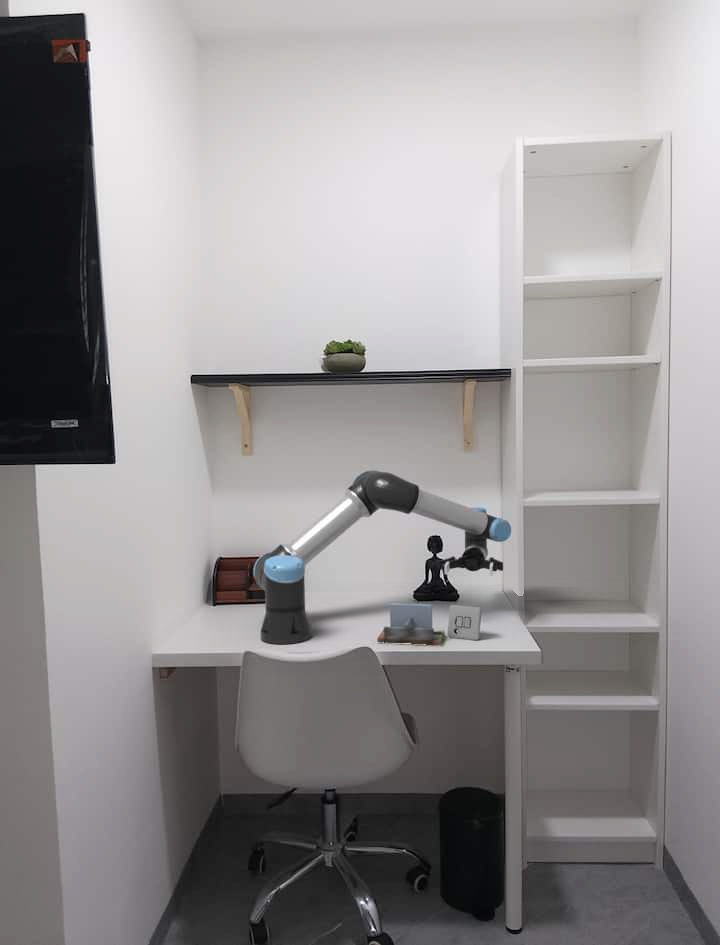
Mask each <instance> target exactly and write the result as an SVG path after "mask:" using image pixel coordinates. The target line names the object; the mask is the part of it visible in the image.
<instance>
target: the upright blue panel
mask: <svg viewBox="0 0 720 945" xmlns="http://www.w3.org/2000/svg"><path fill="white" fill-rule="evenodd" d="M389 616H390V617H389V618H390V619H389V621H390V622H389V624H390V626H389V627H405V628H408V627H410V628H433V604H432V603H431V604H424V603H423V604H422V603H397V602H396V603H395V602H394V603H393V602H391V603H390V604H389ZM434 634H443V632H435V631H434Z"/></svg>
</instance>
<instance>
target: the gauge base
mask: <svg viewBox="0 0 720 945" xmlns="http://www.w3.org/2000/svg"><path fill="white" fill-rule="evenodd" d="M434 631H435V632H443V634H434ZM445 633H446V632H445V630H442V629H440V630H437V629H434V627H432V628H410V627H408V628H405V627H390V626H384V627H383V629H382V631H381V632H380V634H379V636H377V638H376V639H377V642H384V643H386V642H387V643H411V644H426V645H425V646H428V645H441V646H442V644H441V643H443V641H444V639H443V638H445V636H446V634H445Z"/></svg>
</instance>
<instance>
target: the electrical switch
mask: <svg viewBox="0 0 720 945" xmlns="http://www.w3.org/2000/svg"><path fill="white" fill-rule="evenodd" d="M481 608H482V607H480V606H471V605H470V606H469V605H458V604H451V605H450V606H449V614H448V625H447V636H448V637H449V638H453V637H456V638H455V639H461V638H464V640H470V639H472V641H479V639H480V634H481V620H482V609H481Z"/></svg>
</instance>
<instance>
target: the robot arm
mask: <svg viewBox="0 0 720 945" xmlns="http://www.w3.org/2000/svg"><path fill="white" fill-rule="evenodd" d="M379 509H383V510H389V511H395V512H400V513H403V514H406V515H410V514H411V513H413V514H416V515H419V516H422V517H425V518H428V519H431V520H433V521H436V522H438V523H439V522H440V523H441V524H445V525H448V526H451V527H453V528H456V529H459V530H462V531H464V551H463V553H462V555H461V556H459V557H458V558H457V557H455V556H450V557H448V558H445V559H442V560H438V561H437V569H438V570H442V571H443V573H444V575H448V574H449V571H450V570H452V569H456V568H457V569H466V570H467V571H469V572H477V571H480V570H482V569H486V570H489V576H493V574H494V572H497V571H500V572H502V571H504V562H502V561H500V560H498V559H495V557H493V556H491V557H488V554H489V552H488V551H489V550H488V541H487V540H490V541H494V542H496V543H498V542H499V543H502V542H505V541H507V540H508V539H510V536H511V534H512V526H511V524H510V522H509V521H508V520H506V519H503V518H501V517H496V516H493V515H491V514H487V509H486V508H484V507H469V506H466V505H463V504H460V503H458V502H455V501H452V500H450V499H448V498H447V499H446V498H444V497H442V496H439V495H436V494H433V493H431V492H428V491H425V490H422V489H421V488H420V486H419V485H417V484H415V483H412V482H410V481H407V480H406V479H403V478H402V477H399V476H398V475H396V474H394V473H392V472H391V473H390V472H389V471H388V472H387V471H379V470H376V469H375V470H373V469H371V470H365V471H363V472H360V473H359V474H358V475H356V477H355V478H354V479H353V482H352V484H351V485H350V486H349V487H347V488H346V489H345V493H344V497H343V498H342V499H340V500H339V501H338V502H337V503H336V504H334V505H333V506H332V507H331V508H330V509H329V510H327V511H326V512H325V513H324V514H323V515H321V516H320V517H319V518H318V519H317V520H315V521H314V522H313V523H312V524H310V525H309V527H307V528H306V529H305V530H303V531H302V532H301V533H300V534H299V535H298V536H297V537H295V538H294V539H292V541H291V542H289V543H288V544H287V543H285V544H284V543H281V544H279V545H278V546H277V547H276V548H274V549H273V550H272V551H271V552H266V553H264V554H263V555H260V556H259V558H257V559H256V561H255V563H254V566H253V574H252V575H253V578H254V580H255V583H256V585H257V587H259V588H260V589H261V590H263V592H264V596H265V599H264V603H265V614H264V617H263V621H262V625H261V628H260V631H259V632H260V640H261V639H262V640H263V641H262V640H261V641H262V642H264V641H265V642H264V643H268V644H273V645H274V644H275V645H291V644H297V643H302V642H305V641H307V640H309V639H311V638H312V637H313V632H312V630H313V629H312V626H311V623H310V621H309V620H310V619H309V617H308V614H307V611H306V593H305V592H306V589H305V587H306V586H305V585H306V584H305V573H306V566H307V565H308V564H309V563H310V562H311V561H312V560H314V558H316V557H317V556H318V555H320V553H322V552H323V551H324V550H325V549H326V548H327V547H329V546H330V545H331V544H332V543H334V542H335V541H336V540H337V539H338V538H340V536H342V535H343V534H344V533H345V532H346V531H347V530H349V529H350V528H351V527H352V526H354V525H355V524H356V523H357V522H358V521H359V520H360V519H361V518H369V517H371V516H373V514H374V513H375V512H377V511H378V510H379ZM487 557H488V559H487Z"/></svg>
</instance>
